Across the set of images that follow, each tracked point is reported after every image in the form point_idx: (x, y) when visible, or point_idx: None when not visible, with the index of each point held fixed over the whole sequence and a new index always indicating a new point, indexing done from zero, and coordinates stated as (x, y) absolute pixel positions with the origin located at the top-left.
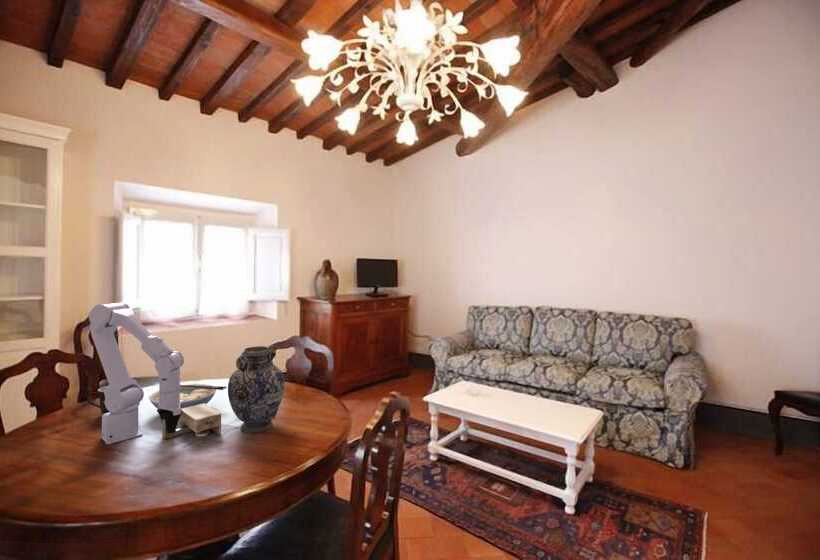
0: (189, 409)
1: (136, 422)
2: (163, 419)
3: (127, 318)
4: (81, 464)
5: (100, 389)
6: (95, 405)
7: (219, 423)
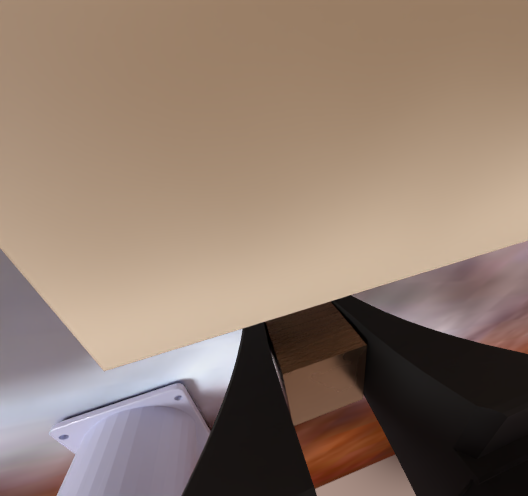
0: (232, 215)
1: (150, 490)
2: (315, 416)
3: None
4: (317, 440)
5: None
6: None
7: None
